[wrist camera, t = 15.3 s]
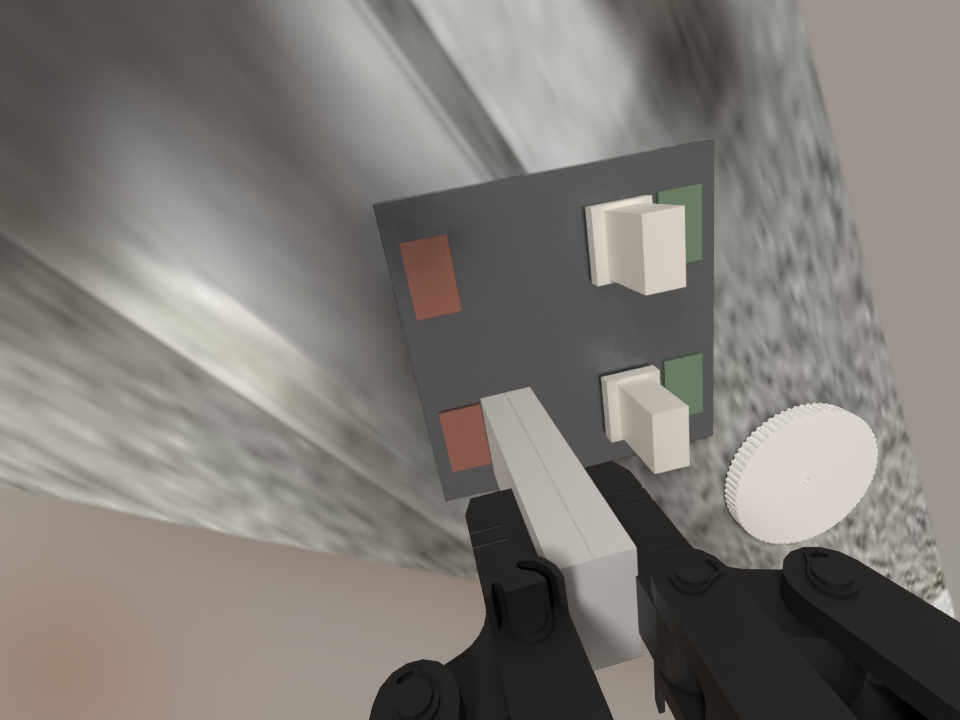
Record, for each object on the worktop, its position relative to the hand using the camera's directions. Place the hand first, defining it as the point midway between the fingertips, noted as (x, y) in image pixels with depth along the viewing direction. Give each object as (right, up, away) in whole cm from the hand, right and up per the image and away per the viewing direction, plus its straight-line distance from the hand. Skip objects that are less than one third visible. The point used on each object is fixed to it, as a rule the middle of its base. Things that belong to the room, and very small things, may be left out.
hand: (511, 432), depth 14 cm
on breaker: (+8, +10, +17) cm, 21 cm away
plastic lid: (+28, -8, +31) cm, 43 cm away
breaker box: (+5, +5, +22) cm, 23 cm away
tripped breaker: (+10, -1, +21) cm, 24 cm away
